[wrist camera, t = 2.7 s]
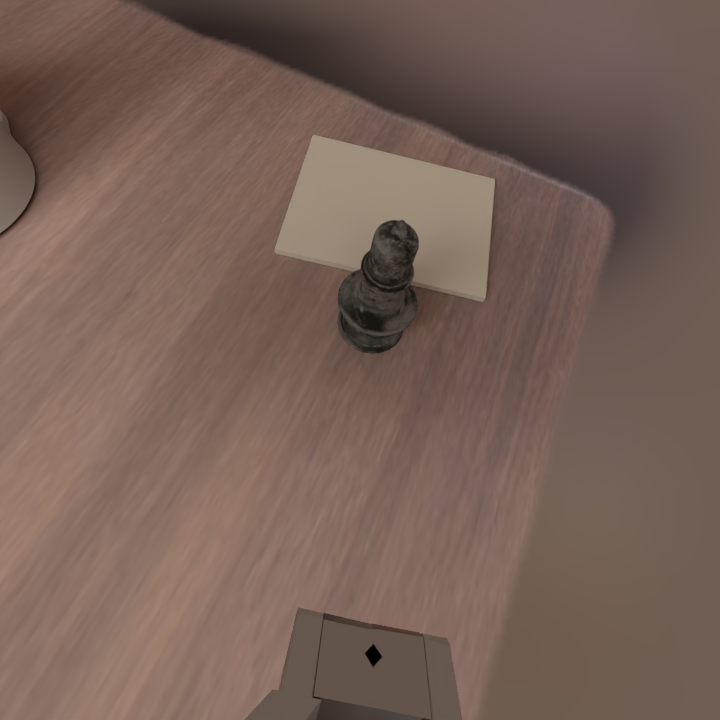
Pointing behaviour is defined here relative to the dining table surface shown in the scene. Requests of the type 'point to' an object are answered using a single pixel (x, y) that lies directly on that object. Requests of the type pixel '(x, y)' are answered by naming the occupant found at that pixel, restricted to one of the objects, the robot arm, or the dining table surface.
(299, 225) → the placemat
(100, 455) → the dining table surface
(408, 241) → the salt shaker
